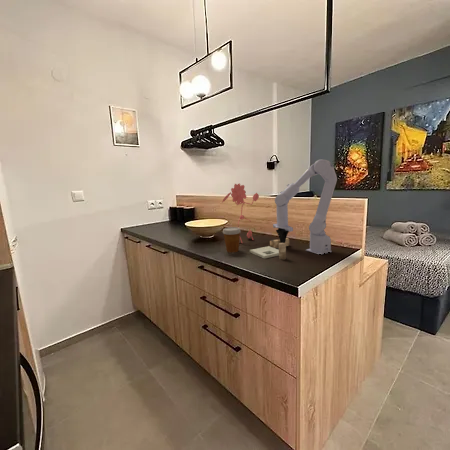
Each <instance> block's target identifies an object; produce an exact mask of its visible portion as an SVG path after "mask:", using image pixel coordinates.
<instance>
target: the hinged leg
mask: <svg viewBox="0 0 450 450" xmlns="http://www.w3.org/2000/svg"><path fill="white" fill-rule="evenodd" d="M279 243H281V242H280V239H279V238H278V239H277V238H276V239H271V240H269V246H270V247H273V248H275V249H279ZM285 243H286V247H290V238H288V237H286V241H285Z"/></svg>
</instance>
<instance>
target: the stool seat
mask: <svg viewBox="0 0 450 450" xmlns="http://www.w3.org/2000/svg"><path fill="white" fill-rule="evenodd" d="M249 253H250V254H253V255H255V256H257V257H260V258H261V259H268V258H273V257H279V248H273V247H270V245H268V246H263V247H257V248H253V249H249Z"/></svg>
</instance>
